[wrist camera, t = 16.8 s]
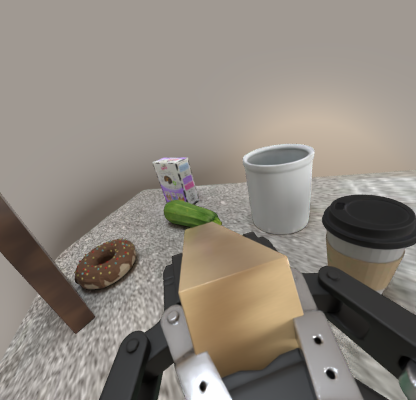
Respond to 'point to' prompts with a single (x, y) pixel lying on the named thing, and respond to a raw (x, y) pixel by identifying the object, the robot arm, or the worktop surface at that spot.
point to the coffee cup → (368, 237)
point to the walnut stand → (40, 269)
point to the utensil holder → (280, 187)
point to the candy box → (176, 179)
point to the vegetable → (189, 214)
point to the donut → (105, 264)
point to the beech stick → (237, 299)
